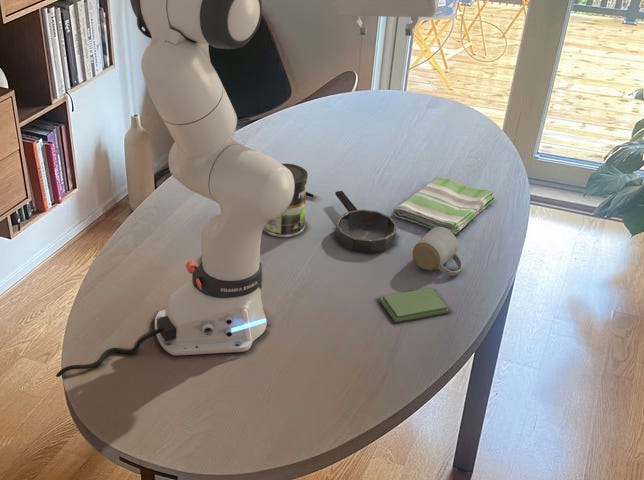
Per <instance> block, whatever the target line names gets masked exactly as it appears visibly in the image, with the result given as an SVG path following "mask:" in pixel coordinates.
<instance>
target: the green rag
mask: <svg viewBox="0 0 644 480" xmlns="http://www.w3.org/2000/svg"><path fill="white" fill-rule="evenodd" d="M379 302H380V303H381V304H382V306H383V308H384V309H385V310H386V312H387V313H388V314H389V316H390V317H391V318H392V320H393V321H394V323H400V322H406V321H411V320H416V319H422V318H427V317H433V316H439V315H443V314H449V310H450V309H449V308H448V306H447V305H446V303H445V302H444V301H443V300H442V298H441V297H440V296H439V295H438V293H437V292H436V291H435V290H434V289H433V287H428V288H427V287H426V288H423V289H417V290H411V291H405V292H400V293H395V294H388V295H383V296H381V297H379Z"/></svg>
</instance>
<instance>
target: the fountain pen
mask: <svg viewBox="0 0 644 480" xmlns="http://www.w3.org/2000/svg"><path fill="white" fill-rule="evenodd" d="M306 197H308V198H309V197H310V198H319V197H318V196H317V195H315V194H314V193H310V192H308V191H306Z"/></svg>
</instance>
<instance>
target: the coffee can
mask: <svg viewBox="0 0 644 480" xmlns="http://www.w3.org/2000/svg"><path fill="white" fill-rule="evenodd" d="M281 164H282V165H283V166H285V167H286V168H288V169H289V170H290V171H291V173H292V175H293V178H294V184H295V189H294V196H293V199H292V201H291V203H290V205H289V207H288V208H287V209H286V210H285V212H283V213H282V214H281V215H280V216H278V217H277V218H275V219H272V220H270V221H268V222H267V223H266V224H265V226H264V228H263V231H264V232H265V233H267V234H268V235H270V236H273V237H279V238H291V237H295V236H298V235H300V234H301V233H302V232H303V231H304V230H305V228H306V227H305V223H306V222H305V221H306V219H305V218H306V201H307V196H306V192H307V182H308V175H309V174H308V171H307V170H306V169H305V168H304V167H302V166H300V165H298V164H294V163H281Z"/></svg>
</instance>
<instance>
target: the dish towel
mask: <svg viewBox="0 0 644 480" xmlns="http://www.w3.org/2000/svg"><path fill="white" fill-rule="evenodd" d="M493 193H494V192H493V191H491V190H488V189H480V188H476V187H471V186H467V185H464V184H462V183H460V182H457V181H455V180H453V179H451V178H448V177H442V176H438V177H437V176H436V177H435V178H433V180H431V181H430V182H429V183H427V184H425V185H424V186H423V187H421V188H420V189H419V190H418V191H417V192H415V193H414V194H411V195H410V197H408V198H407V199H405V200H404V202H402V203H401V204H399V205H397V206H395V207H394V208H393V211H392V212H393V213H392V214H393V215H394V216H395V217H396V218H398V219H402V220H404V221H408V222H412V223H414V224H417V225H420V226H422V227H425V228H427V229H430V230H432V229H433V228H435V227H443V228H446V229H448V230H449V231H451V232H452V233H453V234H454V236H455V235H457V234H458V233H459V232H460V231H461V230H462V229H464V228H465V227H466V226H467V225H468V224H469V223H470V222H472V220H473V219H474V218H475V217H477V215H478V214H480V213H481V212H482V211H484V210H485V209H486V208H487V207H488V206H490V204H491V203H492V202H493V201H494V200H495V196H493Z"/></svg>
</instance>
